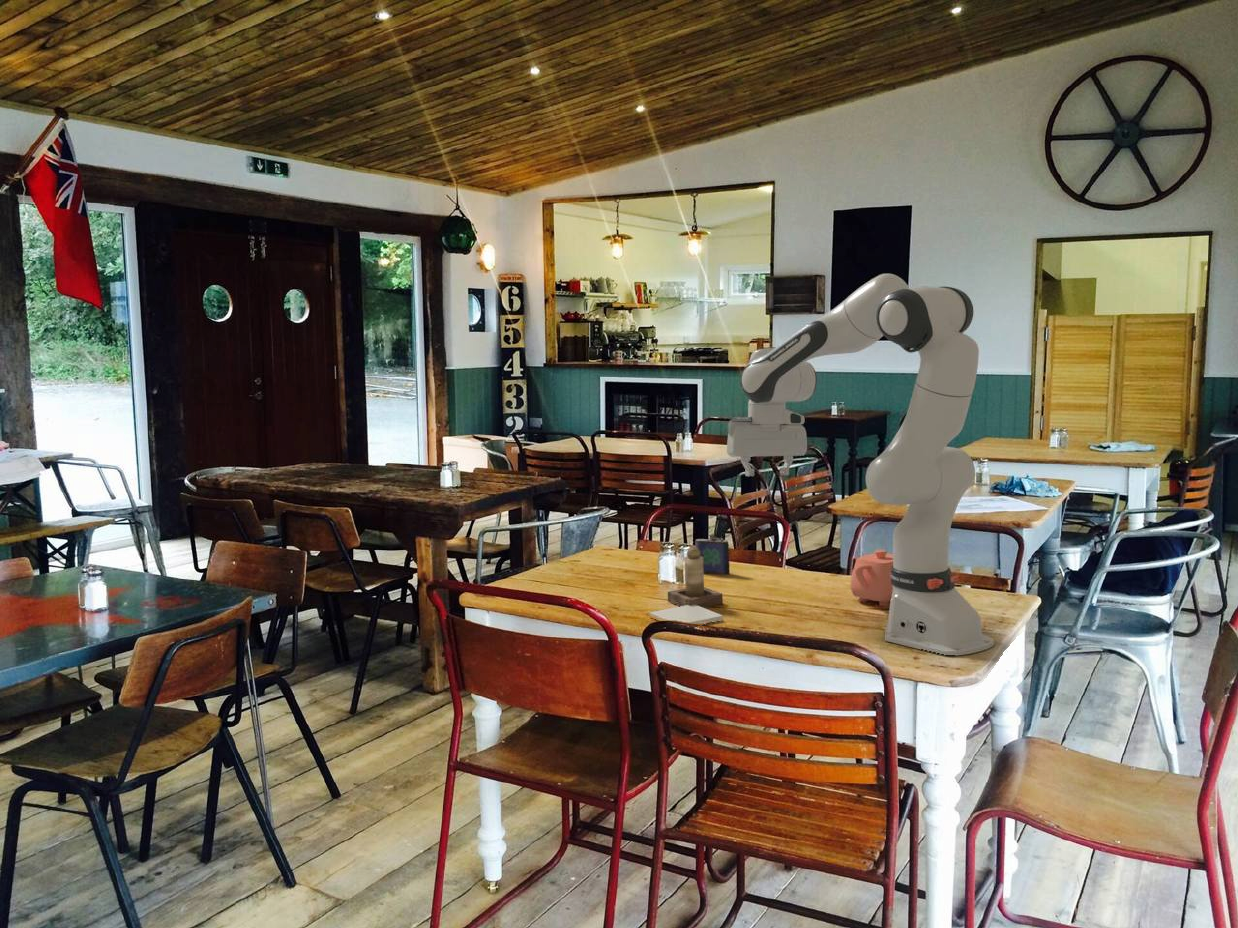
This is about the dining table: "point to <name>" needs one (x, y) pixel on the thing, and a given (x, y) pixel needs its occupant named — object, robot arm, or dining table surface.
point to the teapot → (873, 578)
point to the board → (688, 614)
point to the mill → (694, 573)
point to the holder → (695, 598)
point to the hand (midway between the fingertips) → (767, 475)
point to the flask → (714, 555)
